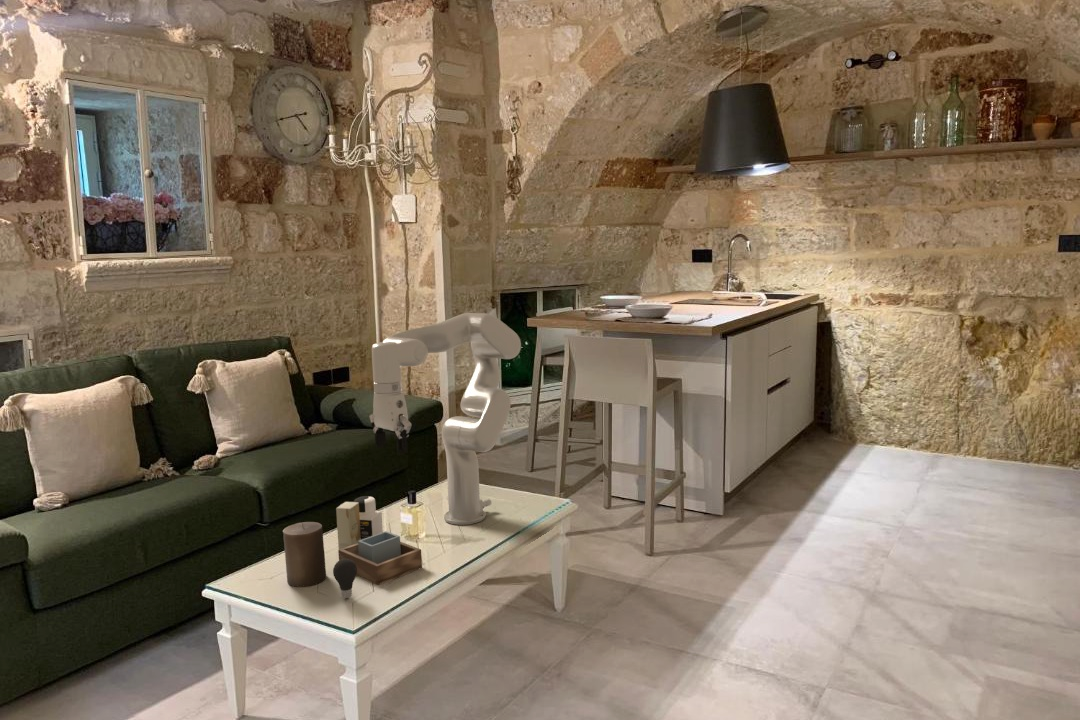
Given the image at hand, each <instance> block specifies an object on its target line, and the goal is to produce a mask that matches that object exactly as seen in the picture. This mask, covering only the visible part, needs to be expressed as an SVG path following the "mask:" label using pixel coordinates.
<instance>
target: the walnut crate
mask: <svg viewBox="0 0 1080 720" xmlns="http://www.w3.org/2000/svg"><path fill="white" fill-rule="evenodd" d="M400 547H401V556H398V557H395V558H393V559H390V560H387V561H385V562H382V563H379V564H377V563H374V562H372V561H370V560H367V559H365V558H362V557H360V556H359V551H358V543H356V544H354V545H351V546H348V547H345V548H342V549H339V548H338V550H337V552H338V561H339V560H341V559H350V560H352V561H353V562H354V563H355V564H356V567H357V574H356V577H359V578H361V579H364V580H366V581H367V582H370V583H372V584H374V585H377V586H380V585H383V584H384V583H385V584H386V583H387V582H390V581H393V580H395V579H397V578H400V577H402V576H405V575H407V574H410V573H412V572H415V571H418V570H420V569H423V556H422V549H420V548H418V547H415V546H412V545H411V544H408V543H405V542H402V541H400ZM419 568H420V569H419Z"/></svg>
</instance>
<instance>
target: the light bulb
mask: <svg viewBox="0 0 1080 720" xmlns="http://www.w3.org/2000/svg"><path fill="white" fill-rule="evenodd" d="M332 574H333V577H334V579H335V581H336V582H337V583H338V585H339V589H340V591H341V592H340V594H341V598H343V599H344V600H345V601H346V600H349V598H351V597H352V595H353V592H352V591H353V590H352V588H353V585H354V581H355V579H356V577H357V576H356V574H357V567H356V564H355V563H354V562H353V561H352V560H350V559H341V560H339V559H338V561H337V562H336V563H335V564H334V566H333V569H332Z"/></svg>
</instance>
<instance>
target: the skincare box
mask: <svg viewBox="0 0 1080 720" xmlns="http://www.w3.org/2000/svg"><path fill="white" fill-rule="evenodd" d="M335 511H336V526H337V540H338V541H337V542H338V543H337V544H338V546H337V547H338V550H339V549H342V548H345V547H348V546H351V545H354V544H356V543H358V541H359V540H361V532H360V515H359V502H354V501H344V502H343V503H341V504H340V505H338V506H337V507H336V508H335Z"/></svg>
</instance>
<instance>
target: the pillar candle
mask: <svg viewBox="0 0 1080 720" xmlns="http://www.w3.org/2000/svg"><path fill="white" fill-rule="evenodd" d="M282 534H283V544H284V546H283V547H284V557H285V559H284V560H285V569H286V581H287V584H288V585H290V586H291V587H292V586H293V587H311V586H315V585H317V584H319V583H322V582H324V581H326V580H325V579H326V578H327V570H326V567H327V566H326V557H325V546H324V545H325V544H324V533H323V525H322V524H321V523H319V522H315V521H305V522H297V523H294V524H291V525H288V526H286V527H285V528H284V529H283V530H282Z"/></svg>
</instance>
